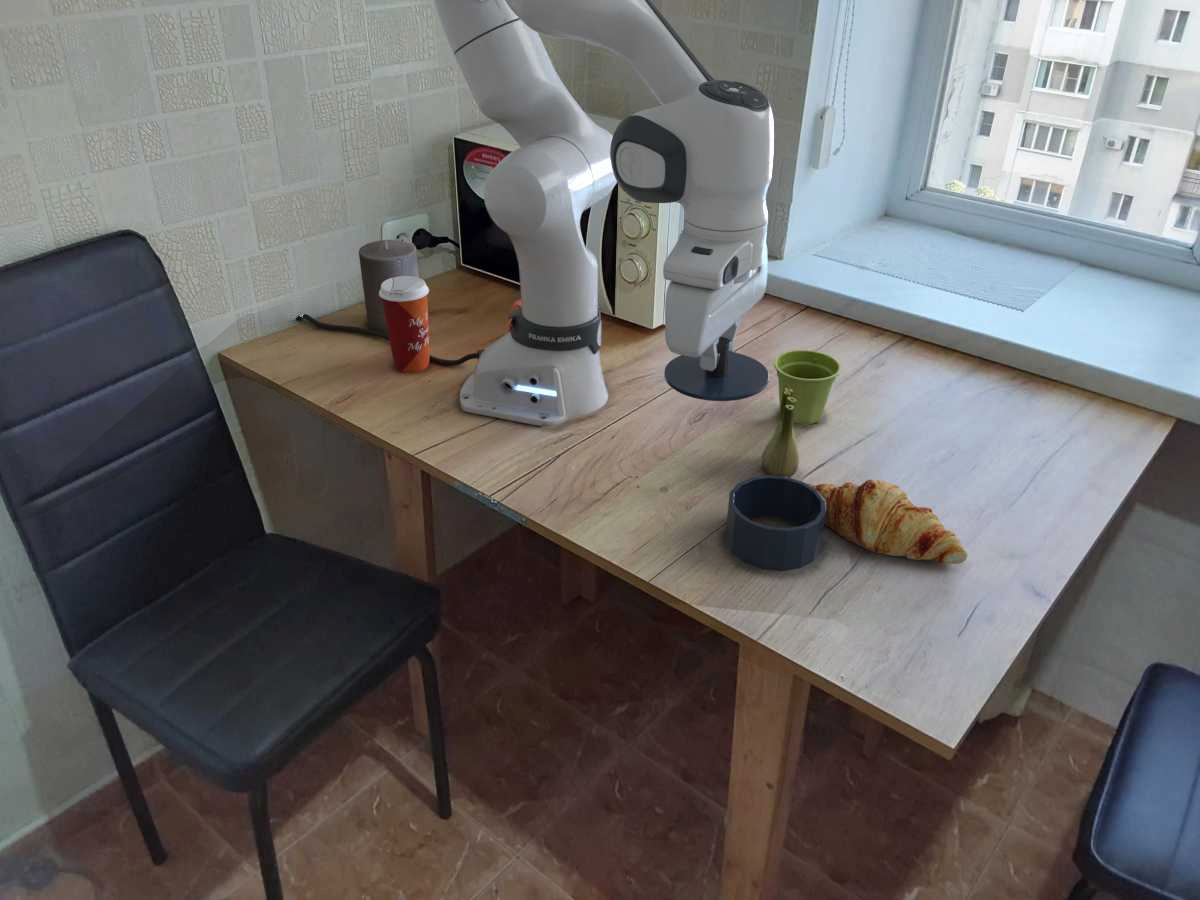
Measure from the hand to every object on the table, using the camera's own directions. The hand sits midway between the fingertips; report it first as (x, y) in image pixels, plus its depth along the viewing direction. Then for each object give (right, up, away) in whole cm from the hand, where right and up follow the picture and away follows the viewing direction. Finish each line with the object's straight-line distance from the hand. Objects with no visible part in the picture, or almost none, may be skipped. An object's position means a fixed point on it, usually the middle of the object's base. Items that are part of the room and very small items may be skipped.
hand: (716, 360), depth 110 cm
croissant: (+20, -21, +7) cm, 30 cm away
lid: (0, -2, +1) cm, 2 cm away
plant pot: (+16, -5, +32) cm, 37 cm away
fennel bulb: (+11, -13, +19) cm, 26 cm away
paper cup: (-44, +3, +46) cm, 64 cm away
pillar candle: (-49, +12, +60) cm, 79 cm away
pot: (+7, -22, +6) cm, 24 cm away
